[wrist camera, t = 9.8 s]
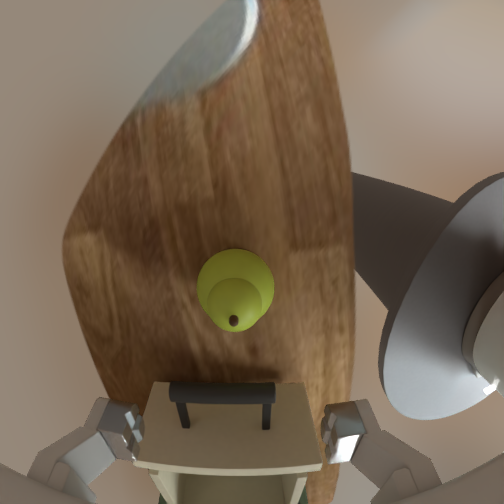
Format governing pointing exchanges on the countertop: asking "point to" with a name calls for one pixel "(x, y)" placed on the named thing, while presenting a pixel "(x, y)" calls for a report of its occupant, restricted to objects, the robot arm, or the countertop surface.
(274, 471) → the drawer
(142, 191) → the countertop surface
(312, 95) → the countertop surface
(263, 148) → the countertop surface
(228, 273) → the pear
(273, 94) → the countertop surface
